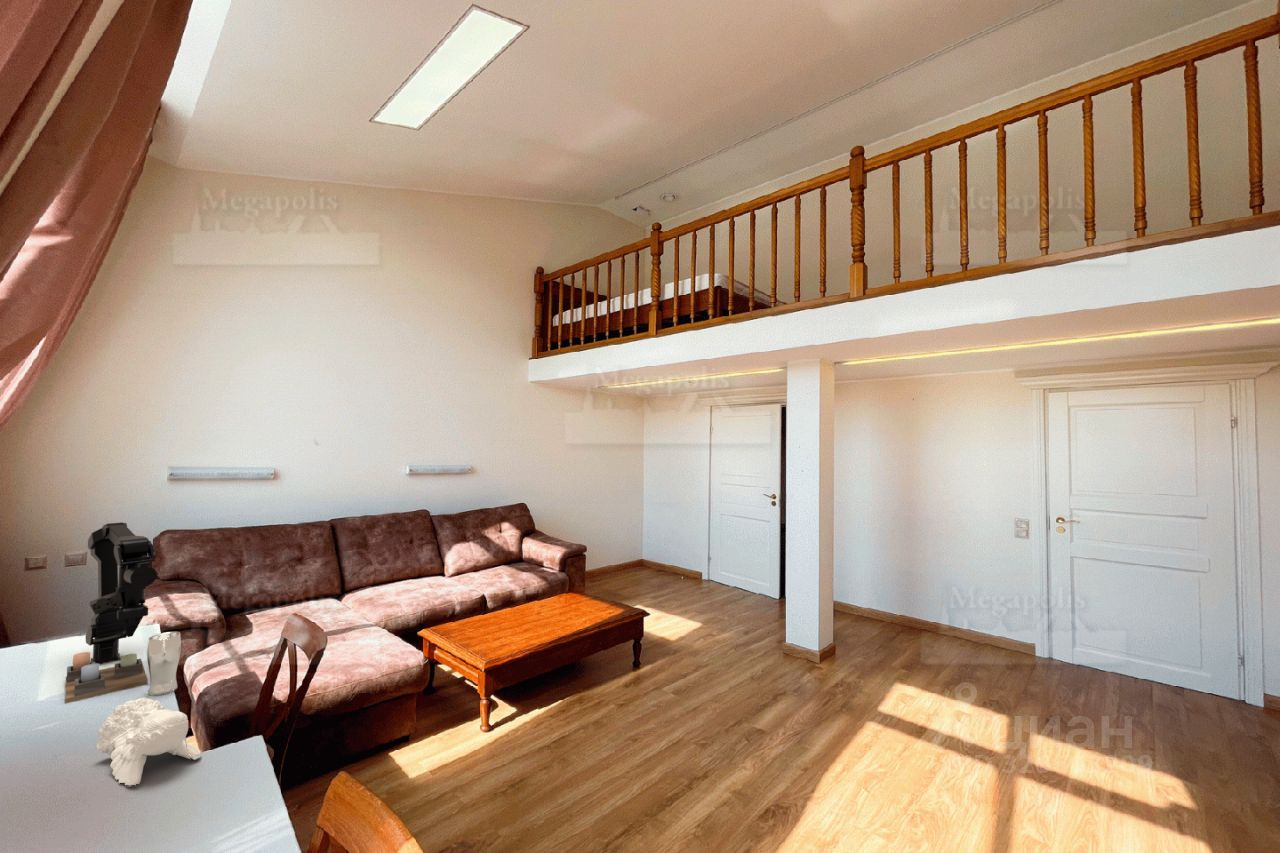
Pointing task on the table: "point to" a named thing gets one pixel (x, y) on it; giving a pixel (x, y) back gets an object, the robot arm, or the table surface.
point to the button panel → (104, 681)
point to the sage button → (128, 660)
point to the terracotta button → (81, 660)
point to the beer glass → (163, 662)
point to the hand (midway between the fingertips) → (129, 636)
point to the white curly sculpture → (142, 737)
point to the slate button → (90, 673)
